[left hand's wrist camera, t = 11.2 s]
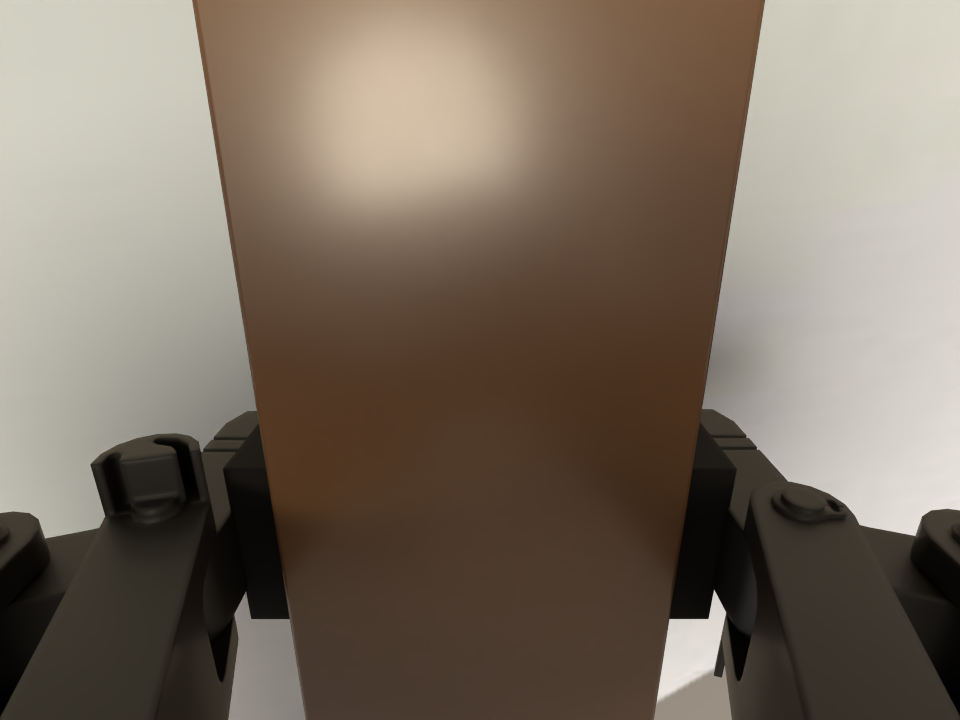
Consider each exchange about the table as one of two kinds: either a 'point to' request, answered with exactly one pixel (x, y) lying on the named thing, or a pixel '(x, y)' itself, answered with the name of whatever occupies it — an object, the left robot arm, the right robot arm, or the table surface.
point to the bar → (479, 330)
